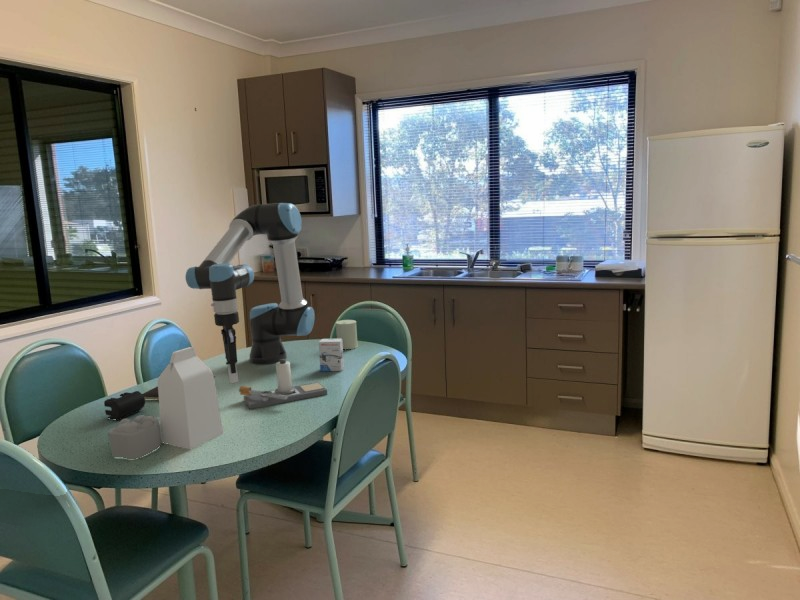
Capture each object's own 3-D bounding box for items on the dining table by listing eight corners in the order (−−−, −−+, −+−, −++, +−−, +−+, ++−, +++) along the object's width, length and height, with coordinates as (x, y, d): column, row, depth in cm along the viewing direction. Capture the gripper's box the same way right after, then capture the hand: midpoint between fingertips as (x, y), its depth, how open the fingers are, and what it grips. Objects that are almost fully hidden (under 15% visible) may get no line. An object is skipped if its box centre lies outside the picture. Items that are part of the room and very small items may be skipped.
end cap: (121, 422, 185) (118, 401, 183) (105, 420, 187) (102, 399, 186) (146, 411, 193) (144, 391, 192) (131, 409, 196) (128, 389, 195)
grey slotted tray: (243, 400, 199) (243, 392, 199) (318, 386, 210) (317, 378, 209) (249, 409, 190) (249, 400, 190) (327, 394, 201) (326, 386, 200)
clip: (243, 392, 200) (243, 384, 200) (289, 399, 190) (289, 392, 190) (237, 395, 197) (236, 387, 197) (283, 402, 188) (282, 395, 187)
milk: (190, 450, 161) (179, 357, 156) (162, 443, 166) (150, 353, 162) (223, 433, 171) (214, 346, 167) (195, 427, 177) (185, 343, 172)
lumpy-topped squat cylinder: (106, 457, 159) (102, 427, 157) (141, 438, 171) (137, 409, 169) (137, 461, 155) (133, 430, 154) (171, 441, 167) (167, 412, 166)
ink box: (319, 371, 227) (317, 342, 225) (322, 368, 232) (320, 338, 230) (342, 371, 227) (339, 341, 225) (344, 367, 232) (342, 338, 229)
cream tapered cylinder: (334, 350, 259) (332, 323, 257) (340, 344, 268) (338, 318, 266) (355, 350, 257) (353, 323, 255) (360, 344, 266) (358, 318, 264)
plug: (273, 396, 202) (270, 358, 199) (293, 392, 204) (289, 355, 202) (278, 402, 195) (274, 363, 193) (298, 398, 198) (295, 360, 196)
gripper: (211, 310, 196) (219, 378, 200) (217, 317, 184) (225, 389, 189) (234, 307, 199) (241, 374, 203) (241, 313, 187) (249, 385, 192)
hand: (233, 381), depth 196 cm, fingers closed
